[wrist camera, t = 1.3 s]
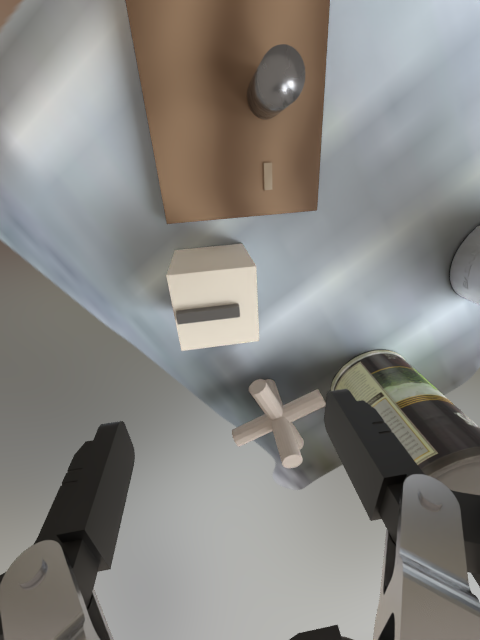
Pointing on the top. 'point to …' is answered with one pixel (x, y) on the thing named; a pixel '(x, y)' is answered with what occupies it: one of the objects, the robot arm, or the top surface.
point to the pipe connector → (278, 420)
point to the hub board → (229, 105)
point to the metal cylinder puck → (276, 81)
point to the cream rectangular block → (214, 296)
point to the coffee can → (417, 417)
